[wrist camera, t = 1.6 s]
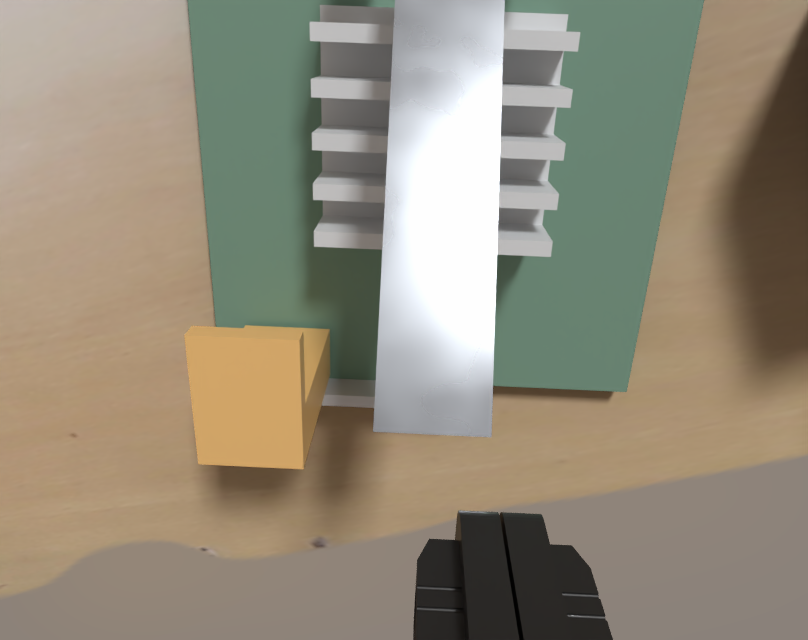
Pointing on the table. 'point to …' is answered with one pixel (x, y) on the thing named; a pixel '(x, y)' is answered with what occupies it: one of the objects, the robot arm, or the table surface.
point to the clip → (256, 393)
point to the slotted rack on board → (367, 161)
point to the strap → (441, 220)
